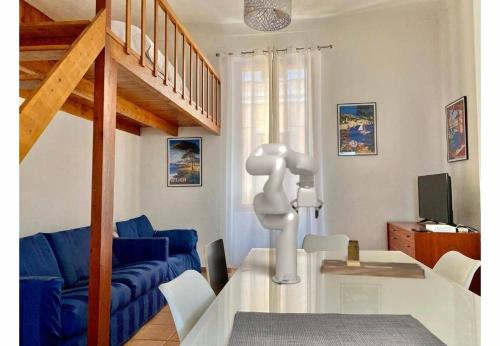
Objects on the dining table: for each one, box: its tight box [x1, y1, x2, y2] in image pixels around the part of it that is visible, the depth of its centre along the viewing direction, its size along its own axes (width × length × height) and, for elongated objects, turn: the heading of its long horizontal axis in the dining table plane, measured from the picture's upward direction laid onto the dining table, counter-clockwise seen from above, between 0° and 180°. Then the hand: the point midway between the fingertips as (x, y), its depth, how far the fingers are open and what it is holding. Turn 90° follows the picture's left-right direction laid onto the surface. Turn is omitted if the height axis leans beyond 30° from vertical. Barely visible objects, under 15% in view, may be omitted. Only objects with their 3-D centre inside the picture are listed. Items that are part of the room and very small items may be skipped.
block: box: [346, 260, 361, 266], centre depth 182 cm, size 6×6×5 cm
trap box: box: [321, 259, 426, 280], centre depth 180 cm, size 12×46×4 cm, turn 78°
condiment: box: [347, 239, 360, 262], centre depth 203 cm, size 7×8×12 cm
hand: (306, 218), depth 190 cm, fingers open, 9 cm apart
